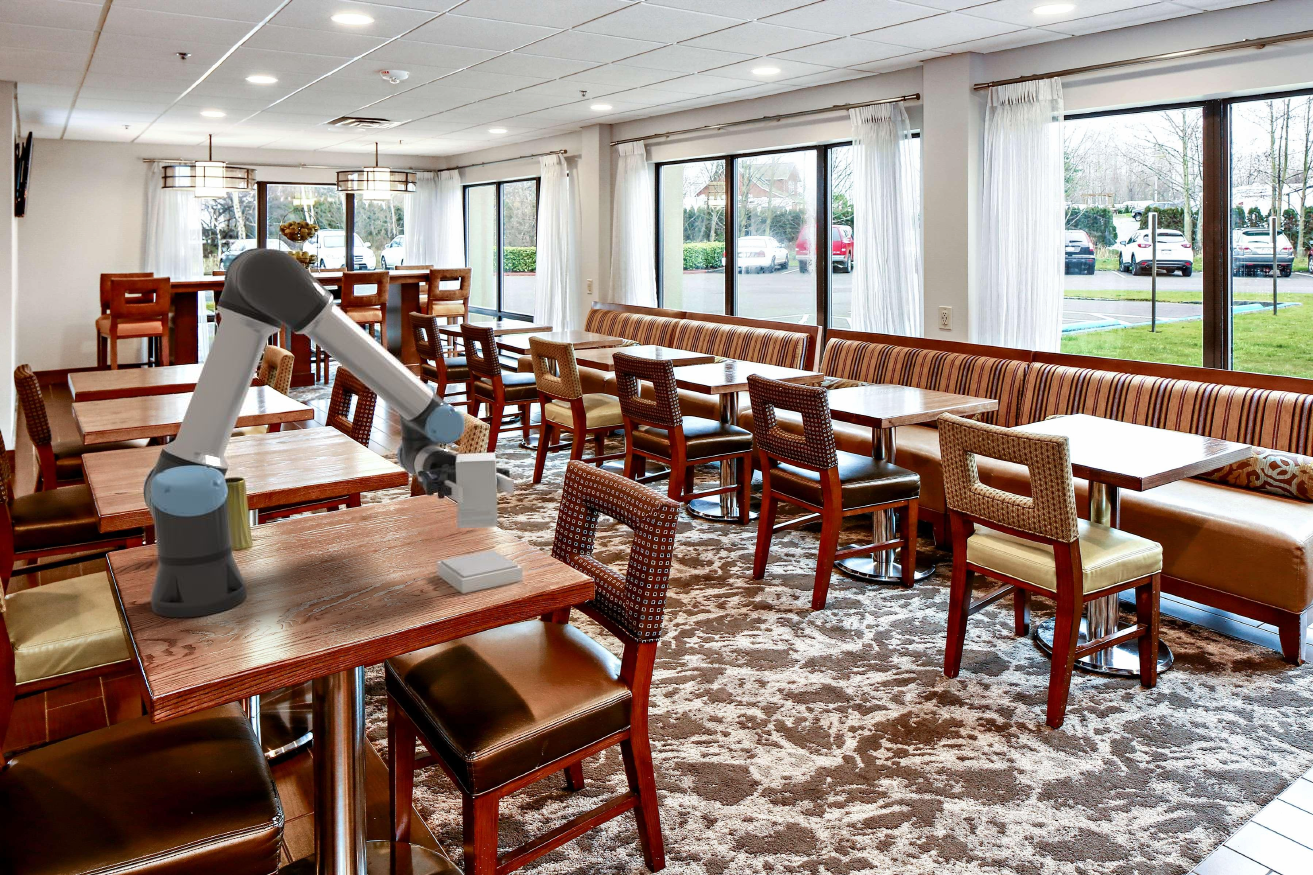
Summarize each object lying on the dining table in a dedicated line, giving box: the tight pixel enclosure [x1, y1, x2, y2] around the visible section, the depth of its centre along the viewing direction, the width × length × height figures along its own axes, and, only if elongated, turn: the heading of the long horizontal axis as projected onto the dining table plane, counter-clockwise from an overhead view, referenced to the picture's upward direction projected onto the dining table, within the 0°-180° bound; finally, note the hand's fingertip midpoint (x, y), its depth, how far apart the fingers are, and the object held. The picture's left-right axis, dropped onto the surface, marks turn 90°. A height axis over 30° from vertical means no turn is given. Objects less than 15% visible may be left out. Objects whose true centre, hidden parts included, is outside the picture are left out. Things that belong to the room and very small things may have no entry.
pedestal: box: [436, 549, 523, 594], centre depth 179 cm, size 12×12×3 cm
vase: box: [225, 476, 254, 551], centre depth 196 cm, size 6×6×14 cm
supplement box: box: [456, 452, 498, 529], centre depth 176 cm, size 7×7×13 cm
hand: (486, 491), depth 172 cm, fingers closed on supplement box, 9 cm apart
